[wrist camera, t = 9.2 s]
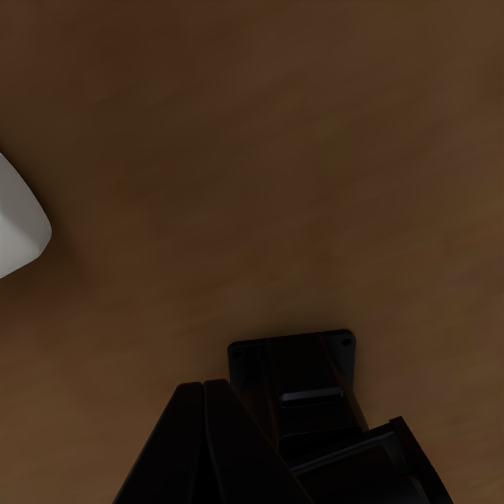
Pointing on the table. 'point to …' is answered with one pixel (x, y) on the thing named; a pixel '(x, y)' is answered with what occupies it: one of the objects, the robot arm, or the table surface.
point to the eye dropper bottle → (19, 221)
